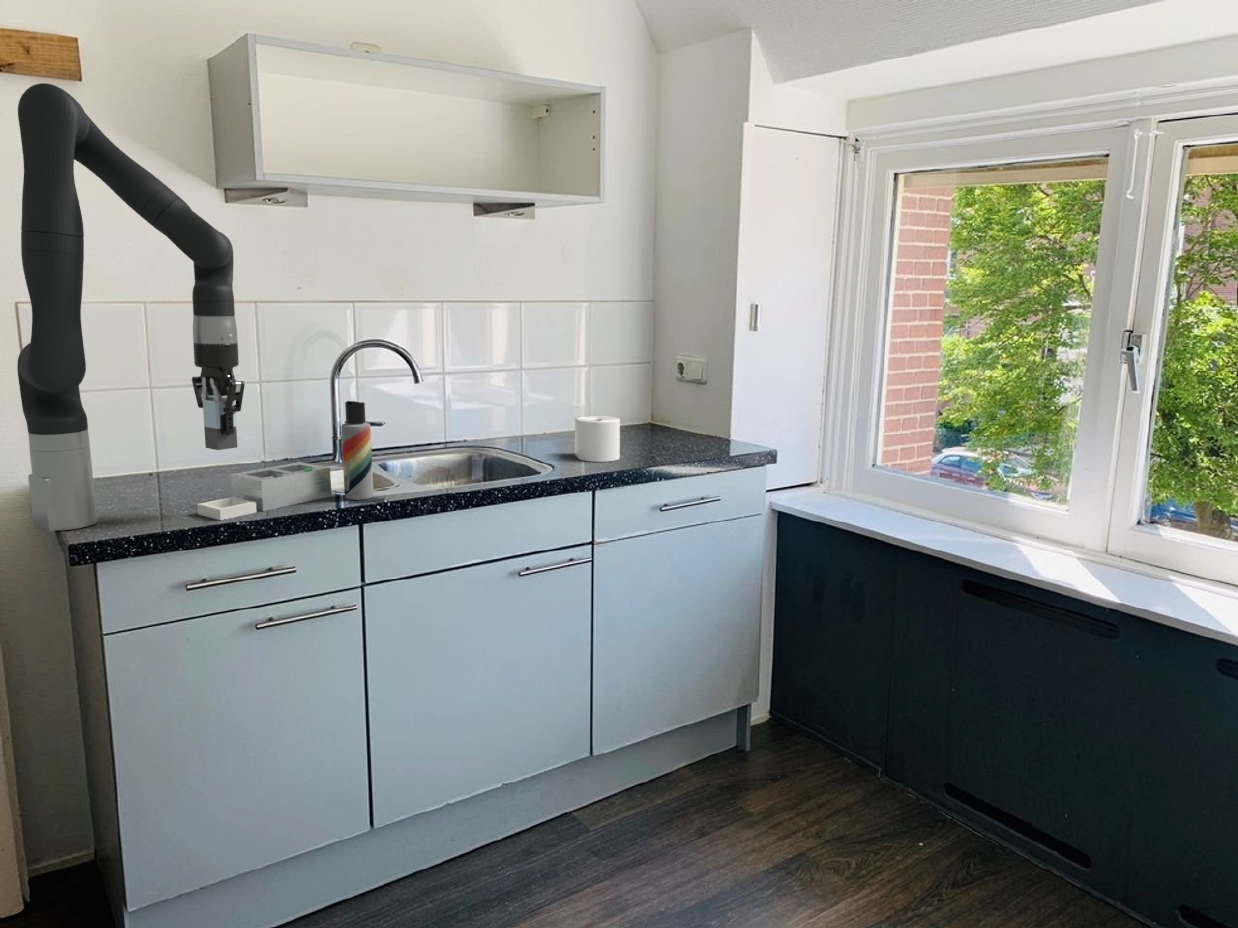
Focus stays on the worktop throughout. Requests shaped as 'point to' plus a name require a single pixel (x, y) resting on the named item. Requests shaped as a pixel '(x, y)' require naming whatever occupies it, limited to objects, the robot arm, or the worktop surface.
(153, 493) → the worktop surface
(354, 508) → the worktop surface
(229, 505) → the white open box
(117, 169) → the robot arm
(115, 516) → the worktop surface
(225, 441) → the light blue block
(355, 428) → the lotion bottle
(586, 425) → the toilet tissue
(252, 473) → the two-compartment grey tray
